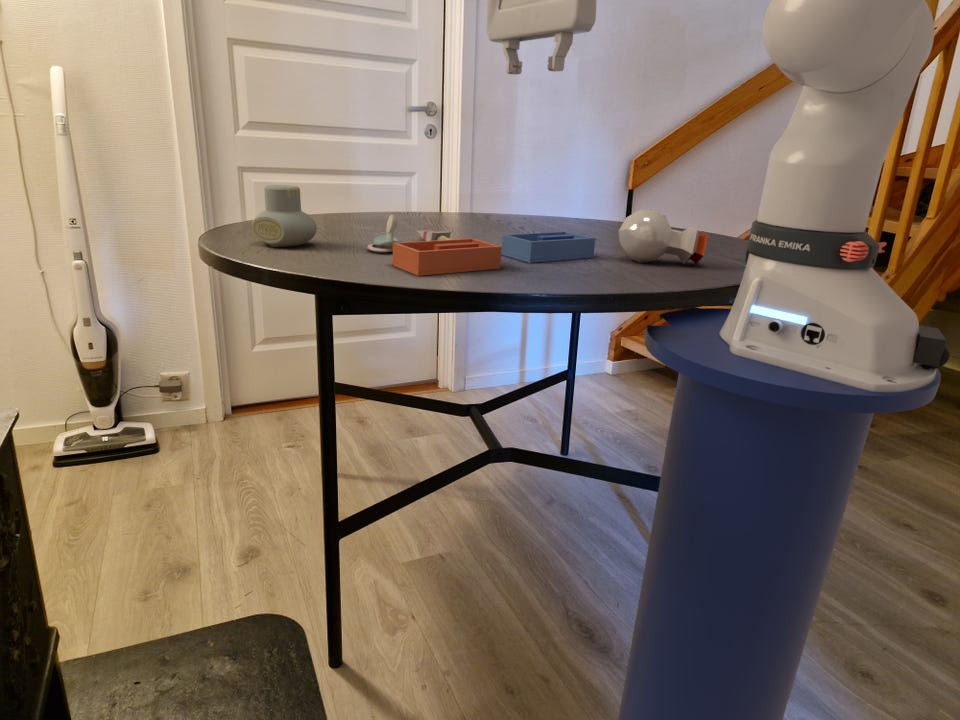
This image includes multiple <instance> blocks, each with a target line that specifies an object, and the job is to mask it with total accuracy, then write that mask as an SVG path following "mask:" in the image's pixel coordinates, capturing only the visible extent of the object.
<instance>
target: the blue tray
mask: <svg viewBox="0 0 960 720" xmlns="http://www.w3.org/2000/svg"><path fill="white" fill-rule="evenodd" d="M566 234H569V235H573V236H574V239H561V240H545V241H537V236H548V235H566ZM501 241H502V242H501V246H502V250H501V256H505V257H508V258H512V259H515V260H518V261H522V262H525V263H529V264H534V263H544V262H545V263H546V262H557V261H569V260H579V259H581V260H582V259H590V258H591V259H592V258H594V255H595V246H596V237H593V236H589V235H583V234H579V233H574V232H571V231H565V230H563V231H545V232H544V231H543V232H528V233H527V232H526V233H525V232H524V233H508V234H502V239H501Z"/></svg>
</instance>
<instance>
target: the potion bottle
mask: <svg viewBox="0 0 960 720" xmlns="http://www.w3.org/2000/svg"><path fill="white" fill-rule="evenodd" d="M708 237H709V234H708V233H707V232H705V231H704V230H702V231H700V232H699V230H698V229H697V228H696V227H693V226H690V227H688V228H686V229H684V230H683V231H681V230H677V229H672V226H671V224H670V222H669V220H668V217H667V215H665V214H663V213H661V212H659V211H656V210H654V209H652V208H650V209H649V208H648V209H647V208H646V209H642V208H641V209H638V210H637V211H634V212H633V213H631V214H630V215H627V217H625V219H624V221H623V223H622V224H621V226H620V228H619V229H618V243H619V245H620V247H621V250H622V252H623V254H624V256H625V257H627V258H628V259H631V260H632V261H635V262H637V263H639V264H644V263H653V262H655V261H657V260H658V259H659V258H661V257H662V256H663V255H665V254H668V255H672V256H677V257H678V258H679V260H680V261H681V263H682V264H683V265H685V264H686V263H687V262H688V261H689V260H690V261H692V262H693V264H694V265H695V266H697V265H698V263H699V262H700V261H701V260H702V259H703V258H704V256H705V252H706V246H707V242H708Z"/></svg>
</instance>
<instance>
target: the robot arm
mask: <svg viewBox="0 0 960 720" xmlns="http://www.w3.org/2000/svg"><path fill="white" fill-rule="evenodd" d="M486 5H487V7H486V35H487V37H488V40H489V41H490V42H493V43H497V44H502V51H503V55H504V56H505V60H506V73H507V74H508V75H513V76H515V75H516V76H517V75H521V74H522V72H523V70H522V68H523V61H520V59H519V55H518V51H519V50H520V44H521V42H526V41H527V42H528V41H534V40H542V39H549V38H550V39H551V38H554V39H553V41H554V42H555V43H556V44H555V46H554V50H553V52H552V55H550V56H548V58H547V70H548V71H549V72H555V73H556V72H563V71H564V69H565V61H566V60H565V59H566V57H567V55H568V53H569V51H570V49H571V47H572V45H573V41H574V35H577V34H585V33H589V32H591V31H592V29H593V27H594V25H595V23H596V18H597V0H487V3H486ZM762 38H763V45H764V48H765V51H766V53H767V55H768V57H769V58H770V60H771V61H772V63H774V65H775V66H776V68H777V69H778V70H779V71H780V72H781V73H782V74H783V75H784V76H785V77H786V78H788V79H789V80H790V81H792V82H794V83H795V84H798V85H801V86H802V89H801V92H800V95H799V99H798V100H797V103H796V106H795V108H794V110H793V112H792V115H791V117H790V120H789V122H788V124H787V125H786V128H785V129H784V131H783V133H782V135H781V136H780V138H779V139H778V141H777V142H775V144H774V145H773V147H772V149H771V151H770V154H769V158H768V163H767V167H766V173H765V177H764V182H763V187H762V193H761V197H760V203H759V208H758V213H757V218H756V219H755V220H754V221H752V223H751V227H750V232H749V236H748V241H747V245H746V250H745V261H744V263H745V268H744V271H743V274H742V278H741V281H740V285H739V287H738V291H737V294H736V295H735V296H736V297H735V298H734V302H733V304H732V305H731V308H730V309H731V311H730V313H729V315H728V317H727V319H726V321H725V323H724V325H723V327H722V329H721V330H720V332H719V335H720V337H721V338H722V339H723V340H724V341H725V342H727V343H728V344H729V345H730V347H729V349H730V352H731V353H733V354H735V355H738V356H741V357H745V358H749V359H752V360H756V361H760V362H764V363H767V364H771V365H775V366H778V367H782V368H786V369H789V370H793V371H797V372H800V373H804V374H808V375H811V376H815V377H819V378H823V379H826V380H830V381H834V382H837V383H841V384H845V385H848V386H852V387H856V388H860V389H863V390H867V391H871V392H881V393H896V392H906V391H911V390H915V389H919V388H921V387H924V386H926V385H928V384H930V383H931V382H933V381H934V379H935V375H936V369H937V368H938V369H939V368H941V367H943V366H944V365H946V364H947V363H948V361H949V359H950V357H951V354H950V352H949V349H948V348H947V347H946V344H947V339H946V337H945V336H944V335H943V333H942V332H941V330H940V329H939V328H938V327H932V326H926V325H925V326H924V325H920V322H919V318H918V315H917V313H916V312H915V311H914V310H913V309H912V308H911V307H910V306H909V305H908V304H907V303H906V302H905V300H903V299H902V298H901V297H900V296H899V295H898V294H897V293H896V291H895V290H894V289H893V288H891V287H890V285H889V284H888V283H887V282H886V281H885V280H884V279H883V278H882V277H881V276H880V274H878V272H877V271H876V270H874V267H875V264H876V262H877V259H878V254H882V253H885V249H883V248H884V247H886V246H887V242H886V241H881V242H877V241H876V240H875V239H874V238H873V237H872V236H871V235H870V234H869V232H867V230H866V228H867V225H868V221H869V217H870V213H871V210H872V206H873V201H874V198H875V194H876V191H877V187H878V183H879V180H880V176H881V171H882V168H883V165H884V162H885V158H886V156H887V154H888V150H889V147H890V145H891V142H892V141H893V137H894V135H895V132H896V130H897V128H898V126H899V124H900V122H901V120H902V118H903V115H904V113H905V111H906V108H907V106H908V103H909V100H910V98H911V96H912V93H913V91H914V88H915V85H916V83H917V81H918V78H919V74H920V72H921V70H922V68H923V67H924V65H925V64H926V62H927V61H928V59H929V57H930V56H931V55H930V54H931V52H932V49H933V46H934V40H935V24H934V18H933V14H932V10H931V8H930V6H929V4H928V3H927V1H926V0H771V1H770V3H769V5H768V7H767V9H766V12H765V16H764V19H763V26H762Z"/></svg>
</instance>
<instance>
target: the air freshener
mask: <svg viewBox="0 0 960 720" xmlns="http://www.w3.org/2000/svg"><path fill="white" fill-rule="evenodd" d="M263 189H264V205H265V206H264V207H265V210H263V211H262V212H260V213H258V214H257V215H256V216H255V217H254V218H253V220H252V222H251V225H250V226H251V231H252V233H253V235H254V236H255V237H256V238H257V239H258V240H259V241H261V242H262V243H264V244H266V245H268V246H270V247H272V248H290V247H291V248H293V247H298V246H301V245H305V244H306V243H308V242H309V241H311V240H312V239H313V238H314V237H315V236H316V233H317V230H318V229H317V224H316V221H315V219H314V218H313V217H311V215H309V214H308V213H306V212H305V211H303V210H302V202H301V189H300V187H299V186H298V185H297V186H296V185H290V184H289V185H287V184H267V185H265V186H264V188H263Z"/></svg>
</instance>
